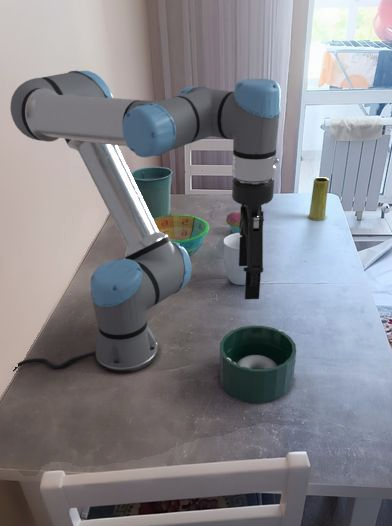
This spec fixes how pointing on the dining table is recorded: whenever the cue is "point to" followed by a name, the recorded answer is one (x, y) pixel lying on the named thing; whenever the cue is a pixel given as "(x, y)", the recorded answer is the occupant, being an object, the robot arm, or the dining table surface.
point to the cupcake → (234, 221)
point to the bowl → (183, 230)
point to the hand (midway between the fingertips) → (248, 281)
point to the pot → (257, 380)
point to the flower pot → (154, 189)
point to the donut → (257, 362)
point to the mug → (234, 260)
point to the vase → (319, 199)
